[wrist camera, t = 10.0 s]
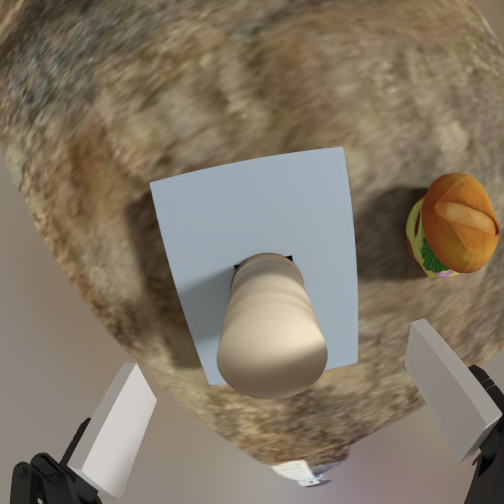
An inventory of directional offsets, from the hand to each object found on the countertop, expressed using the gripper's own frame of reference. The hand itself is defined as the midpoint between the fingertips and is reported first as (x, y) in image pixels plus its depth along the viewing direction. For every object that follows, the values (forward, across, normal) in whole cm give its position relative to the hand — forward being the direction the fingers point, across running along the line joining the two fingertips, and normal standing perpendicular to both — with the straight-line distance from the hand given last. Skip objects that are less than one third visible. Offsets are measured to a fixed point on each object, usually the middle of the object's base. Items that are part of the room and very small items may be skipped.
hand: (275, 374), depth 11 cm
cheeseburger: (+16, +19, +1) cm, 25 cm away
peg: (+15, 0, -1) cm, 15 cm away
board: (+16, 0, -1) cm, 16 cm away
